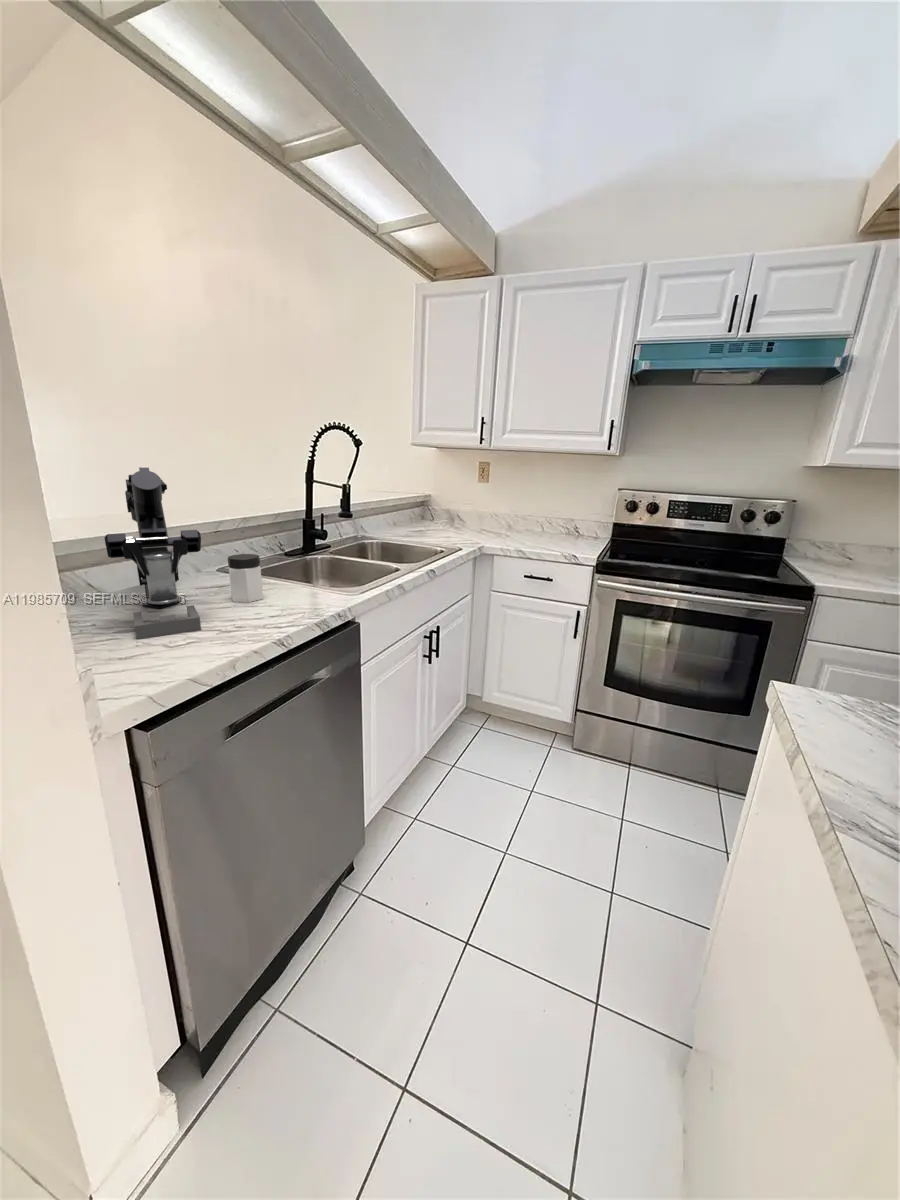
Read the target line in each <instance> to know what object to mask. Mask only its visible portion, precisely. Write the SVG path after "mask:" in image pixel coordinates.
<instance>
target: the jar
mask: <svg viewBox="0 0 900 1200" xmlns="http://www.w3.org/2000/svg"><path fill="white" fill-rule="evenodd" d="M227 566H228V573H229V574H228V575H229V583H230V584H229V585H230V591H231V600H232V602H233V603H246V602H249V603H252V601H253V602H257V601H260V599H261V600H264V594H263V593H264V592H263V580H262V579H263V578H262V571H261V570H262V569H261V559H260V556H259V555H258V554H254V553H241V554H240V553H239V554H232V555H229V556H228V557H227ZM256 600H257V601H256Z"/></svg>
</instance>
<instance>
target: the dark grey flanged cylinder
mask: <svg viewBox="0 0 900 1200" xmlns="http://www.w3.org/2000/svg"><path fill="white" fill-rule="evenodd" d="M142 558H144V564H145V569H146V578H147V584H148V591H149V598H148V603H149V604H154V605H162V604H170V603H174V602H177V601H180V600H181V598H180V595H178V593H177V585H176V583H177V582H175V576H174V569H173V561H172V559H173V551H169V550H168V551H153V552H146V553H143V554H142Z"/></svg>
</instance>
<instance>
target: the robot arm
mask: <svg viewBox="0 0 900 1200" xmlns="http://www.w3.org/2000/svg"><path fill="white" fill-rule="evenodd" d="M138 469H139V470H138V471H136V472H134V473H133V474H128V476H127V477H128V479H125V485H126V490H125V491H124V494H125V502H126V507H127V513H130V515H131V520H132V521H134V522H136V523H137V531H138V536H139V537H137V538H136V537H135V536H127V535H126V533H123V532H122V533H121V532H120V533H107V534H106V535H105V536H104V544H105V548H106V553H107V557H108V558H109V559H110V558H111V559H119V558H123V559H125V560H131V561H133V562H134V563H135V564H136V569H137V576H138V581H139V582H138V583H139V586H144V591H145V596H146V602H145V603H144V602H143V603H141V606H142V607H147V608H152V609H160V610H161V609H162V608H163V609H164V608H167V607H171V606H173V605H176V604H180V603H181V601H180V600H179V601H177V602H174V603H170V604H162V605H154V604H149V603H148V598H149V591H148V584H147V578H146V569H145V564H144V558H142V554H143V553H146V552H153V551H169V548H170V547H171V548H172V553H173V556H172V561H173V569H174V576H175V583H177V582H178V581H179V580H180V579H179V578H180V577H179V564H180V560H181V558H182V556H186V555H187V554H189V553H198V552H200V551H201V549H202V545H201V544H202V537H201V532H200V531H199V530H197V529H184V530H180V536H175V537H169V534H168V527H167V523H166V519H165V513H164V507H163V503H162V500H163V494H165V493H166V490H168V486H167V484H166V483H165V482H164V480H163V479H162V478H161V477H160V476H159V475H158V473H156V472H154V471H150V467H138Z"/></svg>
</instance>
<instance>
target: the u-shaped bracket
mask: <svg viewBox="0 0 900 1200" xmlns="http://www.w3.org/2000/svg"><path fill="white" fill-rule="evenodd" d="M185 607H186V613H187V616H184V617H179V618H178V617H177V618H176V613H175V612H173V613H164V614H159V615H158V616H159V620H157V621H147V622H144V620H143V619H144V618H143V614H142V611H136V612H135V611H134V612H133V621H134V630H135V635H136V636H135V637H136V640H141V639H148V638H154V637H155V638H157V637H162V636H169V635H175V634H182V633H183V634H184V633H189V632H195V631H202V626H201V625H202V624H201V617H200V616H199V613H198V611H197V609H196V607H195V605H193V604H192V605H186V606H185Z"/></svg>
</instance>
